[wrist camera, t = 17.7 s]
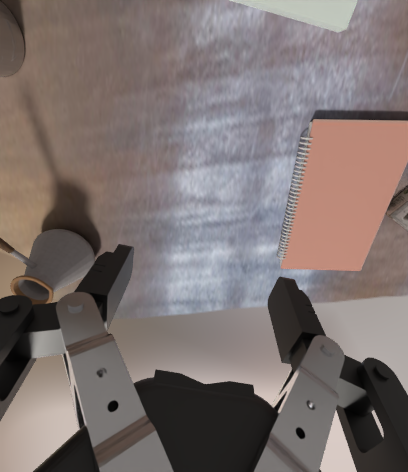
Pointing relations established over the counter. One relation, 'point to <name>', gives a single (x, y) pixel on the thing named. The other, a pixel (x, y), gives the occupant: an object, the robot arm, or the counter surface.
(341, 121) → the notebook
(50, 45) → the counter surface
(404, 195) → the box
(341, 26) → the notched board
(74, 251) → the coffee pot
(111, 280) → the robot arm
